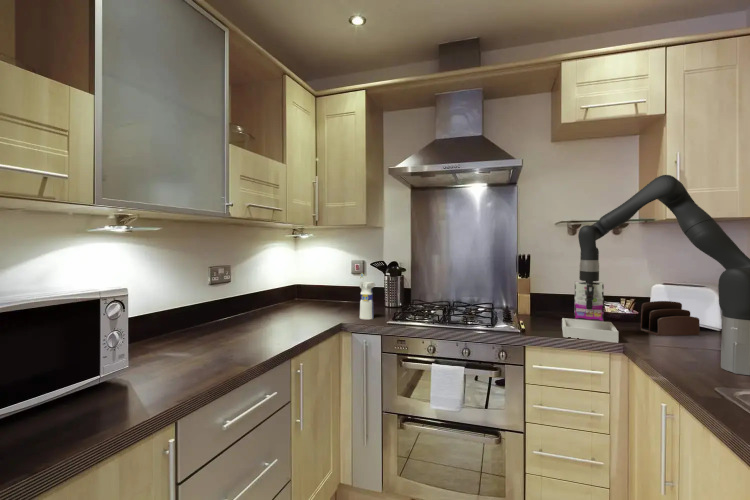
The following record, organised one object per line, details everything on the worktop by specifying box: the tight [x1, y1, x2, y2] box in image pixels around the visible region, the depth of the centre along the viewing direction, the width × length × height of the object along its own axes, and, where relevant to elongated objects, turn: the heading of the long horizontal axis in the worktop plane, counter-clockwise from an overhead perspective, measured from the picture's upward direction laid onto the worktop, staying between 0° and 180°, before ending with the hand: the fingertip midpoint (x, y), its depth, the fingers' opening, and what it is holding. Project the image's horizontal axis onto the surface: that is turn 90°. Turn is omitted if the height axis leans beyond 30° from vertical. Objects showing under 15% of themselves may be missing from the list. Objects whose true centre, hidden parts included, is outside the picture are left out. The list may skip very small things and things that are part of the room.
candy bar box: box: [574, 281, 605, 322], centre depth 161 cm, size 11×5×16 cm, turn 62°
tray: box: [561, 317, 619, 344], centre depth 161 cm, size 20×20×4 cm
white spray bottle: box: [359, 272, 376, 320], centre depth 194 cm, size 8×9×25 cm
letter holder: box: [640, 300, 700, 337], centre depth 165 cm, size 10×20×14 cm, turn 94°
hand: (588, 307), depth 161 cm, fingers closed on candy bar box, 5 cm apart
